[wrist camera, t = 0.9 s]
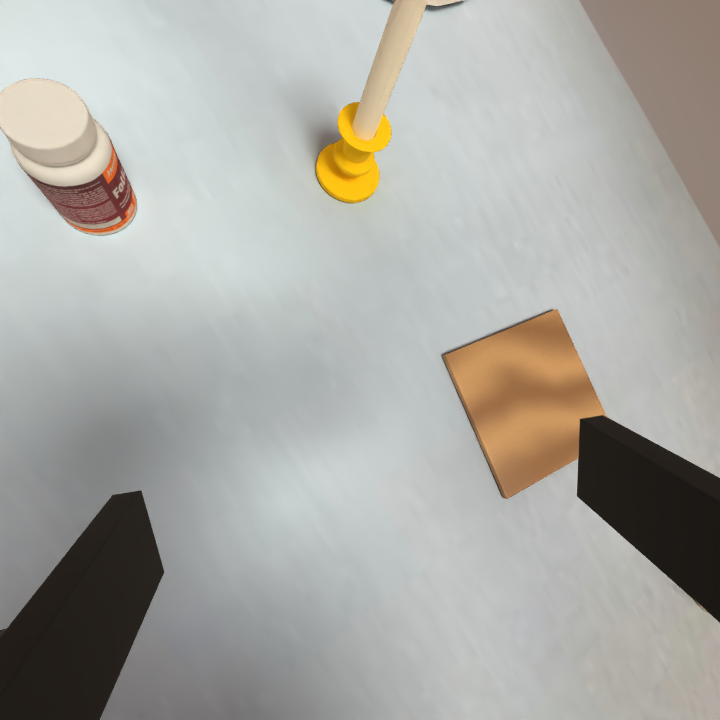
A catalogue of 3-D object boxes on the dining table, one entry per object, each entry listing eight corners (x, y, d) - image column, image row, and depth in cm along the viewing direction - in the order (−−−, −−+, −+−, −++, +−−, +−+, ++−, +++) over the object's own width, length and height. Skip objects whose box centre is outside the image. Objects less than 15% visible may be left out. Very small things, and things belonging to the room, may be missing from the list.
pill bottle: (147, 228, 29) (109, 147, 21) (72, 244, 27) (0, 163, 19) (126, 167, 29) (80, 65, 21) (50, 180, 28) (-30, 75, 20)
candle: (302, 173, 33) (348, -47, 18) (340, 133, 34) (410, -99, 19) (354, 215, 33) (440, 35, 18) (389, 174, 35) (493, -22, 20)
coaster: (611, 436, 36) (616, 436, 35) (503, 498, 32) (507, 499, 31) (553, 310, 37) (557, 308, 36) (441, 356, 33) (444, 354, 32)
